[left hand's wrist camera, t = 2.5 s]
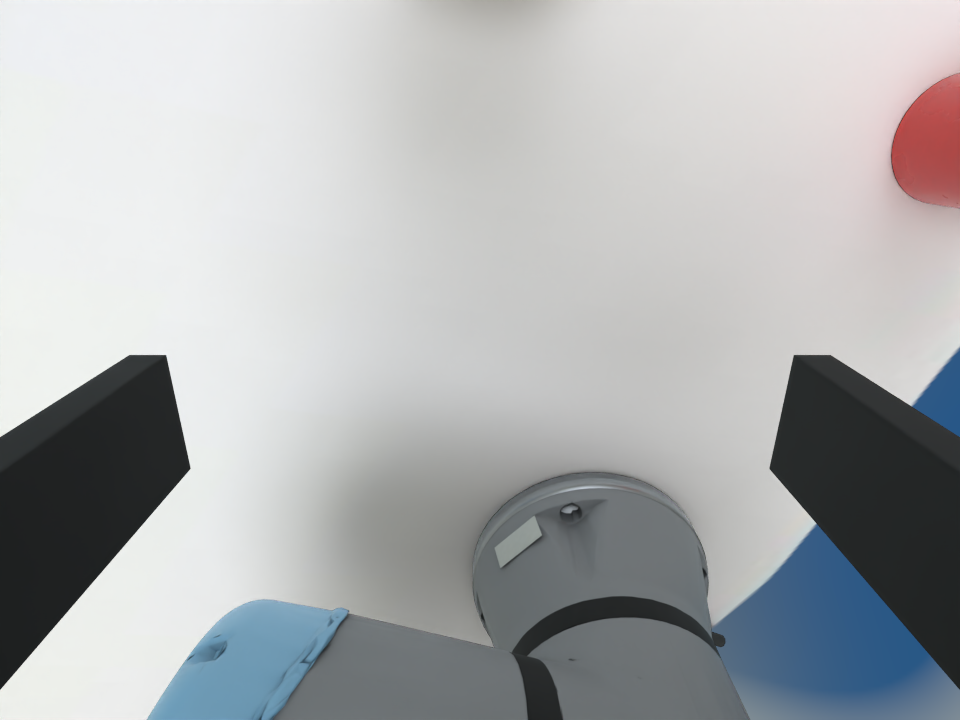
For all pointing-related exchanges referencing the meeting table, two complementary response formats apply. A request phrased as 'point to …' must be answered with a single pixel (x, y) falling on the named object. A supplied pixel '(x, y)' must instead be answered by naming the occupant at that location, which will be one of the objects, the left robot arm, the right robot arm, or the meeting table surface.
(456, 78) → the meeting table surface
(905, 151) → the can
